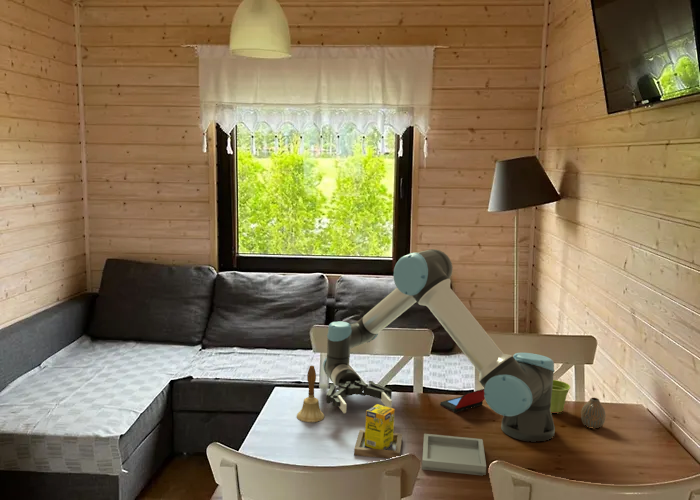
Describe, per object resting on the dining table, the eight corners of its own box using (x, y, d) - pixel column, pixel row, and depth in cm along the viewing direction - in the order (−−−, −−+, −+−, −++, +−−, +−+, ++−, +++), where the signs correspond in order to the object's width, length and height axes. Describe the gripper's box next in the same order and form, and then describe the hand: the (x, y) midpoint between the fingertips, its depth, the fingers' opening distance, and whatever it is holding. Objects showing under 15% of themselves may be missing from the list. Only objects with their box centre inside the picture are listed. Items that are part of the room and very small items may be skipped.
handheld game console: (466, 398, 220) (467, 376, 219) (490, 409, 212) (492, 387, 210) (438, 405, 213) (439, 383, 212) (462, 417, 204) (464, 394, 203)
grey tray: (481, 447, 184) (482, 439, 183) (485, 475, 168) (486, 466, 167) (423, 442, 186) (424, 433, 185) (421, 469, 170) (422, 460, 170)
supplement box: (382, 454, 177) (384, 415, 175) (363, 448, 180) (365, 410, 179) (393, 446, 182) (395, 408, 180) (374, 440, 185) (376, 403, 184)
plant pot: (535, 413, 209) (537, 386, 208) (539, 402, 218) (541, 377, 217) (566, 418, 206) (569, 392, 204) (569, 408, 214) (571, 382, 213)
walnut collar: (402, 440, 186) (402, 433, 186) (399, 459, 175) (399, 453, 174) (359, 435, 188) (359, 429, 188) (354, 455, 176) (354, 448, 176)
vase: (606, 432, 197) (609, 404, 195) (581, 429, 198) (584, 401, 197) (602, 423, 203) (605, 396, 202) (578, 420, 205) (581, 393, 203)
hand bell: (325, 422, 196) (327, 370, 194) (297, 422, 195) (299, 370, 193) (322, 411, 204) (324, 361, 202) (295, 411, 203) (297, 361, 201)
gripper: (382, 389, 214) (407, 415, 194) (307, 394, 206) (325, 422, 186) (384, 366, 212) (409, 391, 192) (308, 371, 205) (326, 397, 185)
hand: (367, 406), depth 189 cm, fingers open, 13 cm apart
